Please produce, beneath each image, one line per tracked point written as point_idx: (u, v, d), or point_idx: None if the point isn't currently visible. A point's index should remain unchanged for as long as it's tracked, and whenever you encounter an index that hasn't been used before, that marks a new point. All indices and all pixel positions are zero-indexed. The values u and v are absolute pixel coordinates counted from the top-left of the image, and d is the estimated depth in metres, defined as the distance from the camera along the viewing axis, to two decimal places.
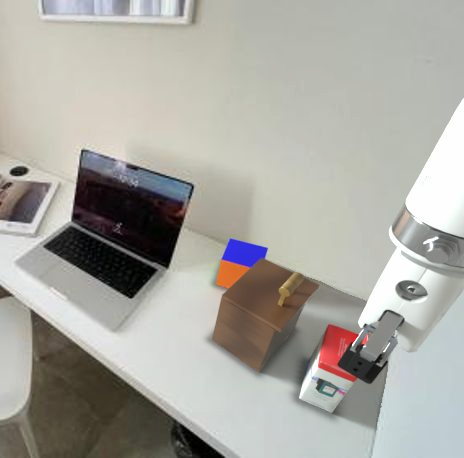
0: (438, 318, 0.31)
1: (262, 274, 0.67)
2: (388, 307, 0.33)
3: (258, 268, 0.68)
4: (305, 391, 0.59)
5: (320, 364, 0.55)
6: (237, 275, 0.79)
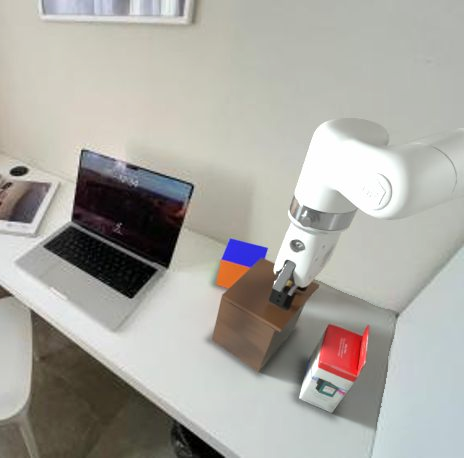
0: (312, 262, 0.50)
1: (262, 274, 0.67)
2: (287, 258, 0.52)
3: (258, 268, 0.68)
4: (305, 391, 0.59)
5: (320, 364, 0.55)
6: (237, 275, 0.79)
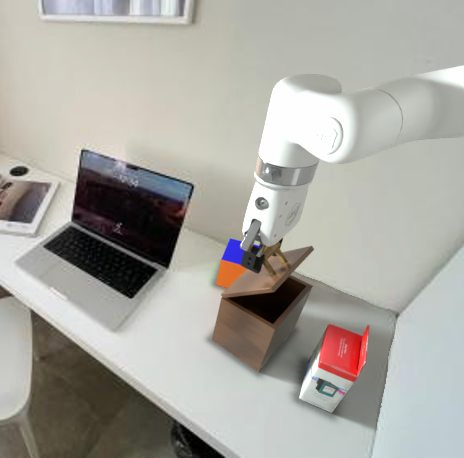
0: (276, 219, 0.51)
1: None
2: (253, 217, 0.54)
3: None
4: (305, 391, 0.59)
5: (320, 364, 0.55)
6: (237, 275, 0.79)
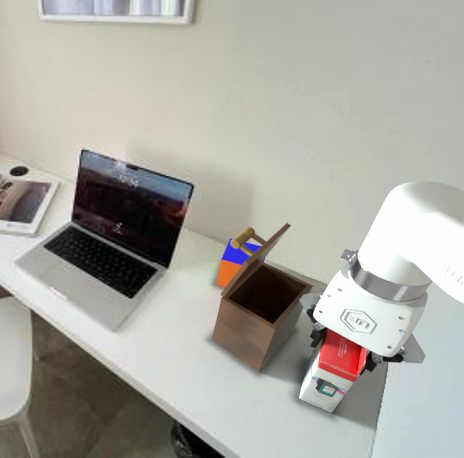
0: (325, 294, 0.51)
1: None
2: None
3: None
4: (305, 391, 0.59)
5: (320, 364, 0.55)
6: None
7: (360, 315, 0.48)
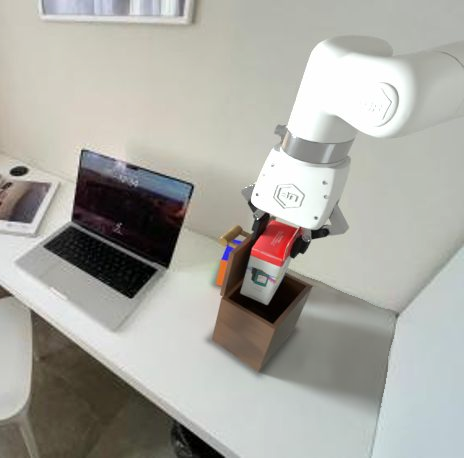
0: (260, 175, 0.52)
1: None
2: None
3: None
4: (243, 284, 0.62)
5: (252, 251, 0.57)
6: None
7: (290, 189, 0.49)
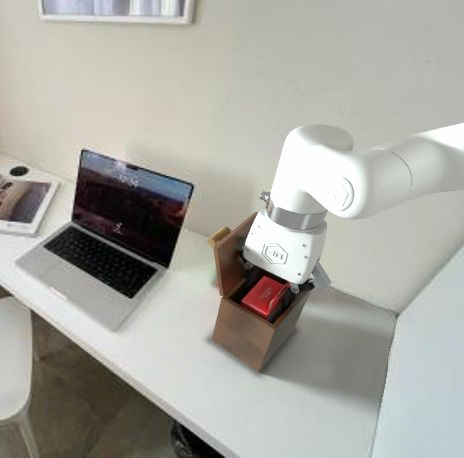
0: (249, 233, 0.58)
1: None
2: None
3: None
4: None
5: (241, 303, 0.64)
6: None
7: (275, 248, 0.56)
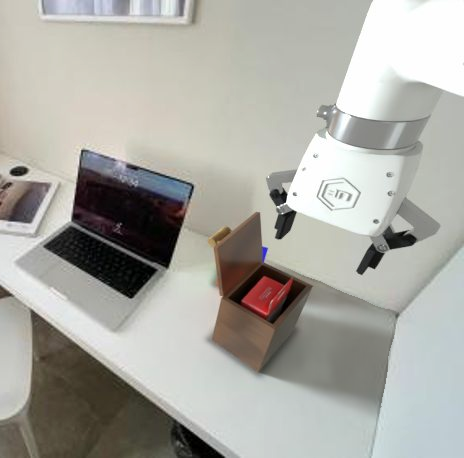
0: (299, 169, 0.42)
1: None
2: None
3: None
4: None
5: (241, 303, 0.64)
6: None
7: (340, 185, 0.39)
